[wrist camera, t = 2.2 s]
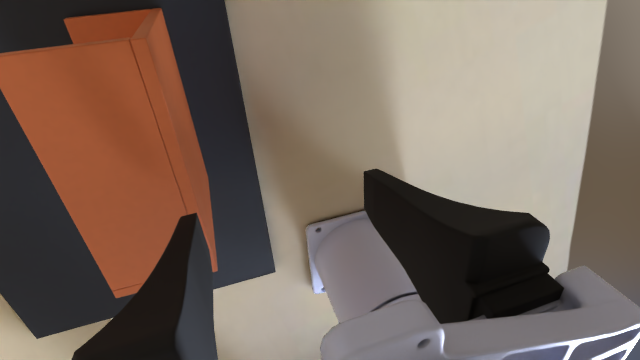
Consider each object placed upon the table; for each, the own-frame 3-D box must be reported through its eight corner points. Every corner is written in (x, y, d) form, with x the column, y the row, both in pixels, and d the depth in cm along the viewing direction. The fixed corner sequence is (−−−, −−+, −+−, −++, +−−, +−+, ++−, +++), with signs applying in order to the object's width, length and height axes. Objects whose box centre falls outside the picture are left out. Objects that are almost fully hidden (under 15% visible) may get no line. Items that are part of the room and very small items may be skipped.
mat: (218, -27, 19) (219, -26, 19) (274, 268, 31) (275, 272, 31) (-215, 13, 15) (-224, 14, 15) (38, 334, 27) (36, 339, 27)
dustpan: (161, 7, 19) (146, 37, 12) (227, 247, 28) (242, 350, 21) (65, 17, 18) (-18, 57, 11) (166, 263, 27) (159, 377, 20)
